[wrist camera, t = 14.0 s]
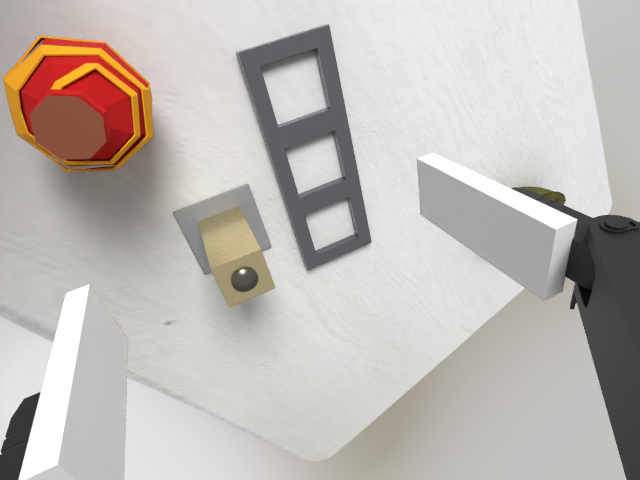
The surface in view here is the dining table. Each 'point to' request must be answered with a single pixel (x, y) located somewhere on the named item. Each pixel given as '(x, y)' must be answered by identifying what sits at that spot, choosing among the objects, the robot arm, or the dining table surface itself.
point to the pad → (214, 206)
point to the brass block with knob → (235, 257)
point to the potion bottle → (80, 103)
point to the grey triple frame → (306, 130)
